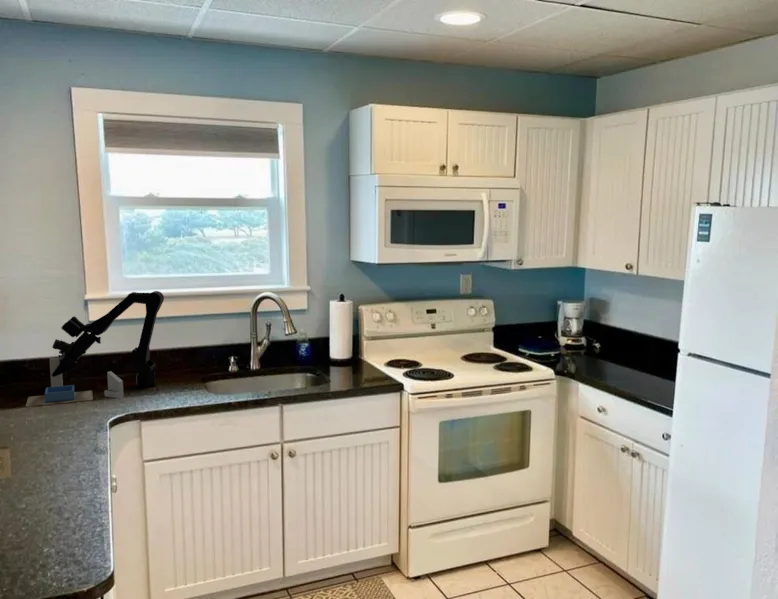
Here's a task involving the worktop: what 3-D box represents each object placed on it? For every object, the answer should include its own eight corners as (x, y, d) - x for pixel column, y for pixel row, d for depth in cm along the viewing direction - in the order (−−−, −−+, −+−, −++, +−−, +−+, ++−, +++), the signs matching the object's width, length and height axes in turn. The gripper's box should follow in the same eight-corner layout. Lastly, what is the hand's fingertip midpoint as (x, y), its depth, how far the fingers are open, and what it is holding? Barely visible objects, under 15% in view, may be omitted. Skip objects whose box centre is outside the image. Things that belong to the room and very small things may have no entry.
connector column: (63, 388, 259) (61, 357, 258) (62, 391, 256) (60, 359, 254) (51, 389, 257) (49, 358, 256) (51, 392, 254) (49, 360, 252)
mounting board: (92, 393, 253) (92, 390, 253) (92, 402, 241) (92, 399, 241) (28, 399, 244) (28, 396, 244) (25, 409, 231) (25, 406, 231)
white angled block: (103, 388, 250) (110, 371, 248) (121, 403, 248) (128, 386, 245) (95, 391, 247) (103, 373, 245) (113, 406, 245) (121, 388, 242)
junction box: (74, 393, 249) (74, 384, 248) (74, 400, 240) (73, 390, 240) (46, 396, 245) (46, 387, 244) (45, 403, 236) (44, 393, 236)
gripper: (63, 328, 264) (34, 357, 260) (66, 336, 248) (35, 367, 243) (85, 345, 268) (57, 374, 264) (90, 354, 252) (60, 384, 248)
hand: (52, 374), depth 255 cm, fingers closed on connector column, 4 cm apart
